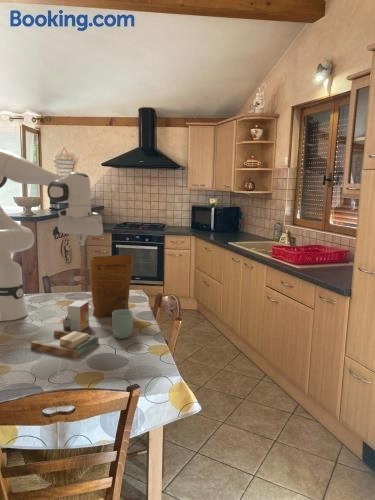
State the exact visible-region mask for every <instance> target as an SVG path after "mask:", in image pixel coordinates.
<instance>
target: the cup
mask: <svg viewBox="0 0 375 500" xmlns="http://www.w3.org/2000/svg"><path fill="white" fill-rule="evenodd" d="M133 316H134V315H133V311H132V310H131V309H129V310H127V309H120V310H115V311H113V312H112V316H111V317H112V318H111V320H112V321H111V325H112V326H111V327H112V333H113V335H114V337H115V338H117V339H121V340H122V339H123V340H125V339H128V338H129V337H130V336H131V335H132V332H133Z"/></svg>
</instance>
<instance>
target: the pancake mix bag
mask: <svg viewBox="0 0 375 500" xmlns="http://www.w3.org/2000/svg"><path fill="white" fill-rule="evenodd" d="M133 258H134V255H132V254H113V255H102V256H92V259H91V258H90V259H89V265H88V267H89V283H90V290H91V291H90V292H91V300H92V306H93V311H92V312H93V313H92V316H94V317H97V318H109V317H112V312H113V311H115V310H120V309H127V310H130V309H129V298H130V286H131V281H132V272H133V271H132V270H133V260H134V259H133Z"/></svg>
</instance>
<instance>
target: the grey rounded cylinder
mask: <svg viewBox="0 0 375 500" xmlns="http://www.w3.org/2000/svg"><path fill="white" fill-rule="evenodd" d="M64 315H65V318H64V319H63V320H62V324H63V326H62V328H63V329H62V330H64V331H69V332H74V331H71V319H69V318H68V313H67V314H64Z"/></svg>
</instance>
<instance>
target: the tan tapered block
mask: <svg viewBox="0 0 375 500" xmlns="http://www.w3.org/2000/svg"><path fill="white" fill-rule="evenodd" d="M88 335H89V334H88V333H87V332H82V331H81V332H79V331H73V332H72V333H70V334H68V335H66V336H64V337H62V338H59V346H62V347H67V348H72V349H74V347H76V346H78V345H79V344H81V343H83V342H84V341H86V340H88Z"/></svg>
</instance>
